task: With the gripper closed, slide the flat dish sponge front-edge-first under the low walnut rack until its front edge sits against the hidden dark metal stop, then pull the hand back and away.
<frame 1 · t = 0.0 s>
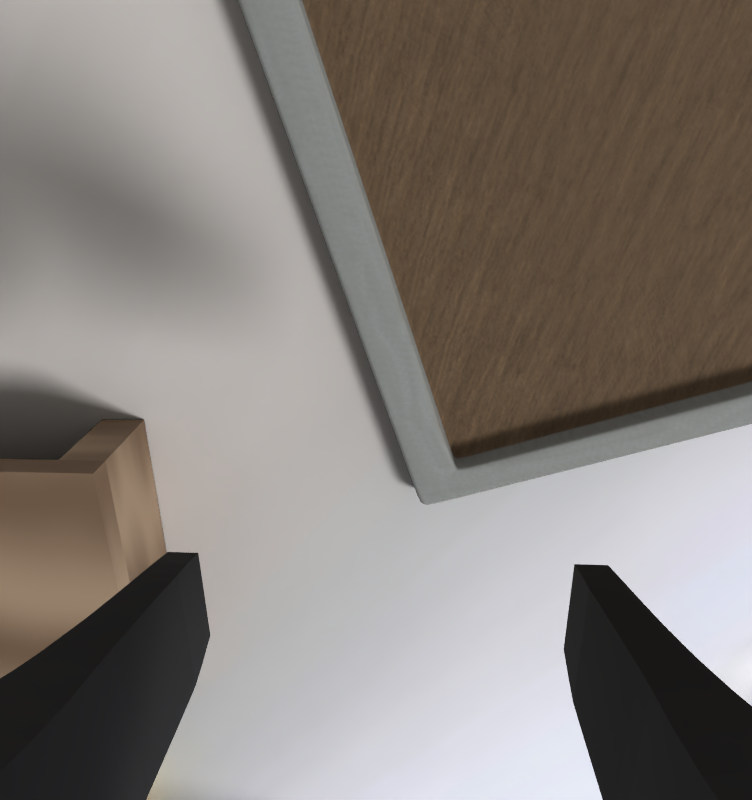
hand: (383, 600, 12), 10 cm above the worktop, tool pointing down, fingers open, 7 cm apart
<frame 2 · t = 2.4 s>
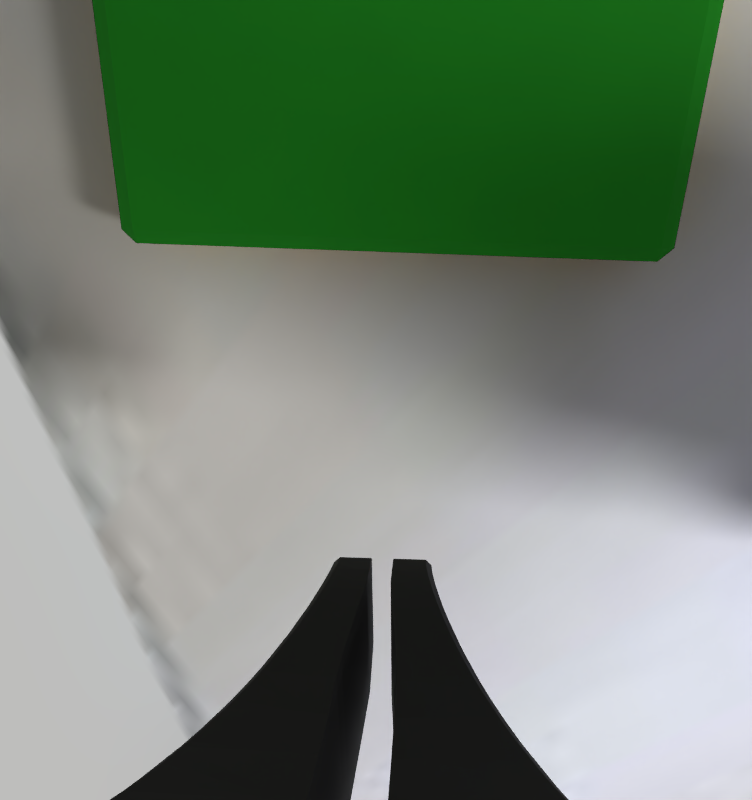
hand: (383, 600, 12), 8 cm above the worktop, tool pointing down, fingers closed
dish sponge: (399, 99, 17), on the worktop
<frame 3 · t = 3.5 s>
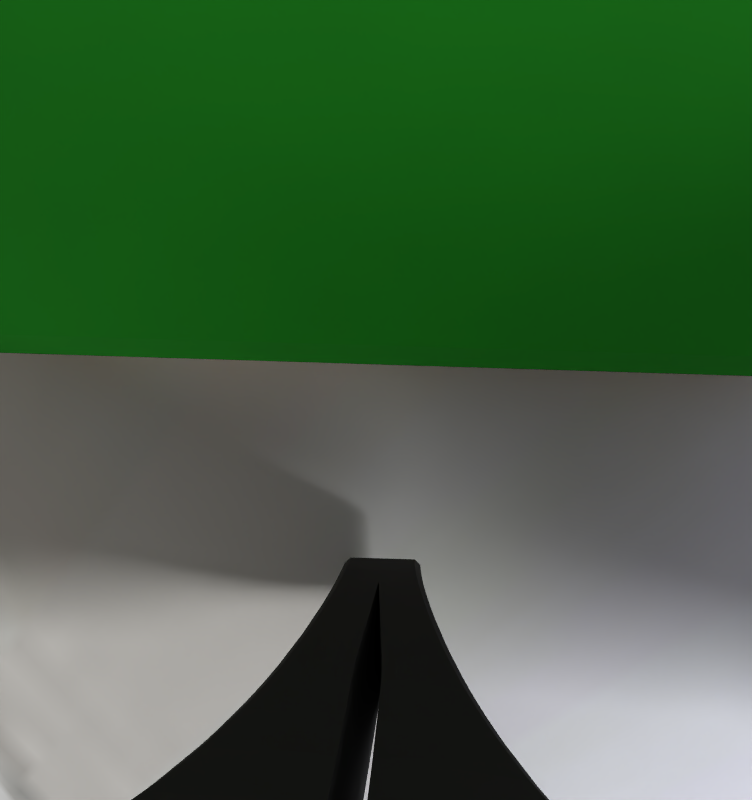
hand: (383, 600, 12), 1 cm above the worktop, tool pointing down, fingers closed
dish sponge: (384, 109, 11), on the worktop
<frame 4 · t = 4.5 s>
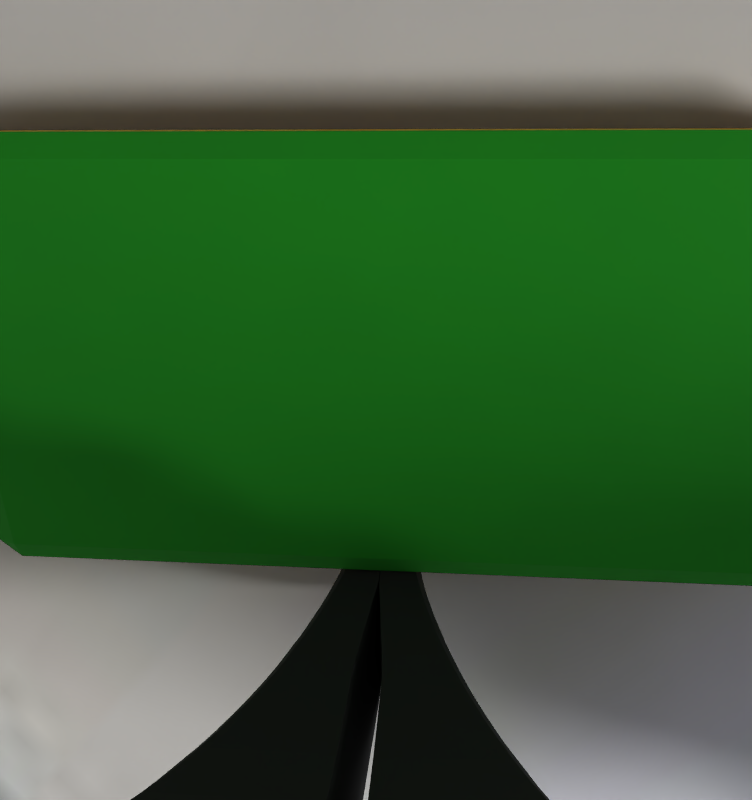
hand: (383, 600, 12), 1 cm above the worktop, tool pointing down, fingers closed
dish sponge: (392, 332, 12), on the worktop
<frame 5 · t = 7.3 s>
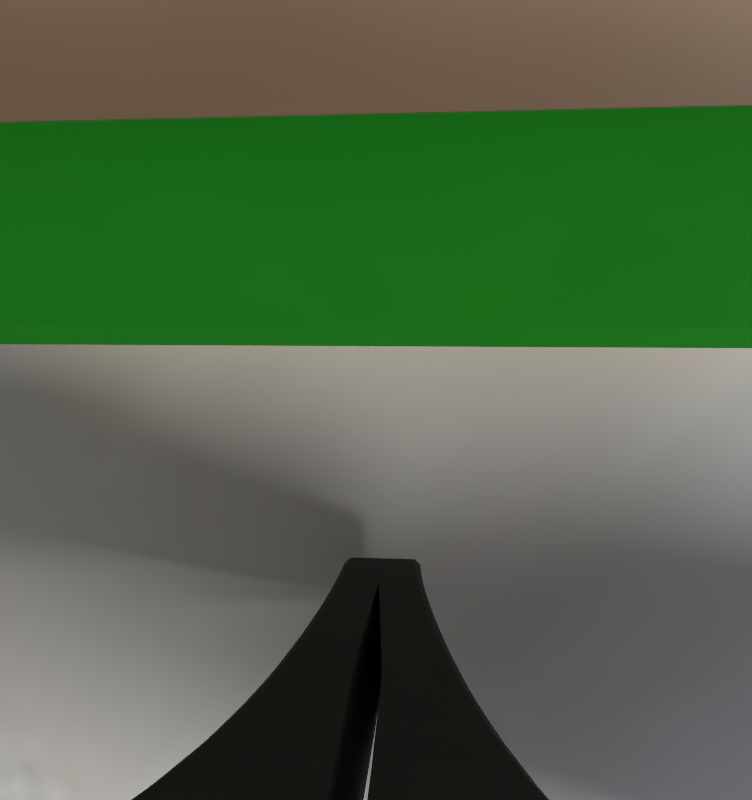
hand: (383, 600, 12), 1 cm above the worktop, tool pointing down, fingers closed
dish sponge: (406, 89, 11), on the worktop
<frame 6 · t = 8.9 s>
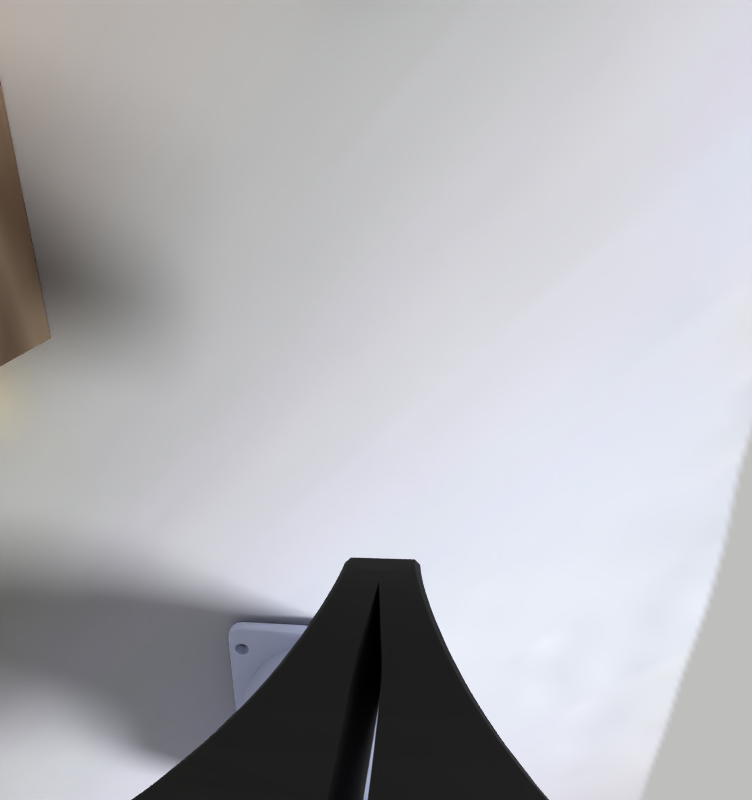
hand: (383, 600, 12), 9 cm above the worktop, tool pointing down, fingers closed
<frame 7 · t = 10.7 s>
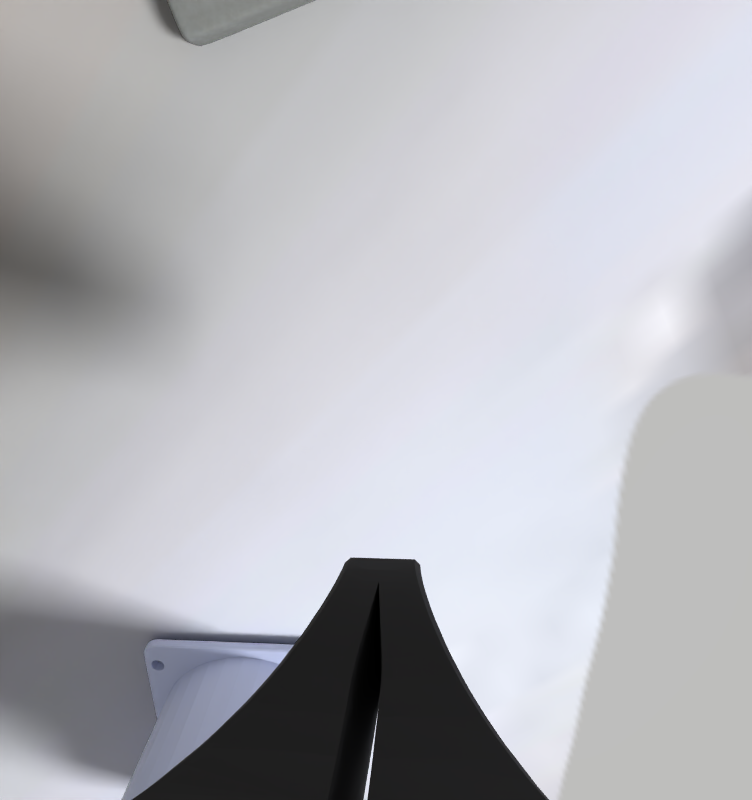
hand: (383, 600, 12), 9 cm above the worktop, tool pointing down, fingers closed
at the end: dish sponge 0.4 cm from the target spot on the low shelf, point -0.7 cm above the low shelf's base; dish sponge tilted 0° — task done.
